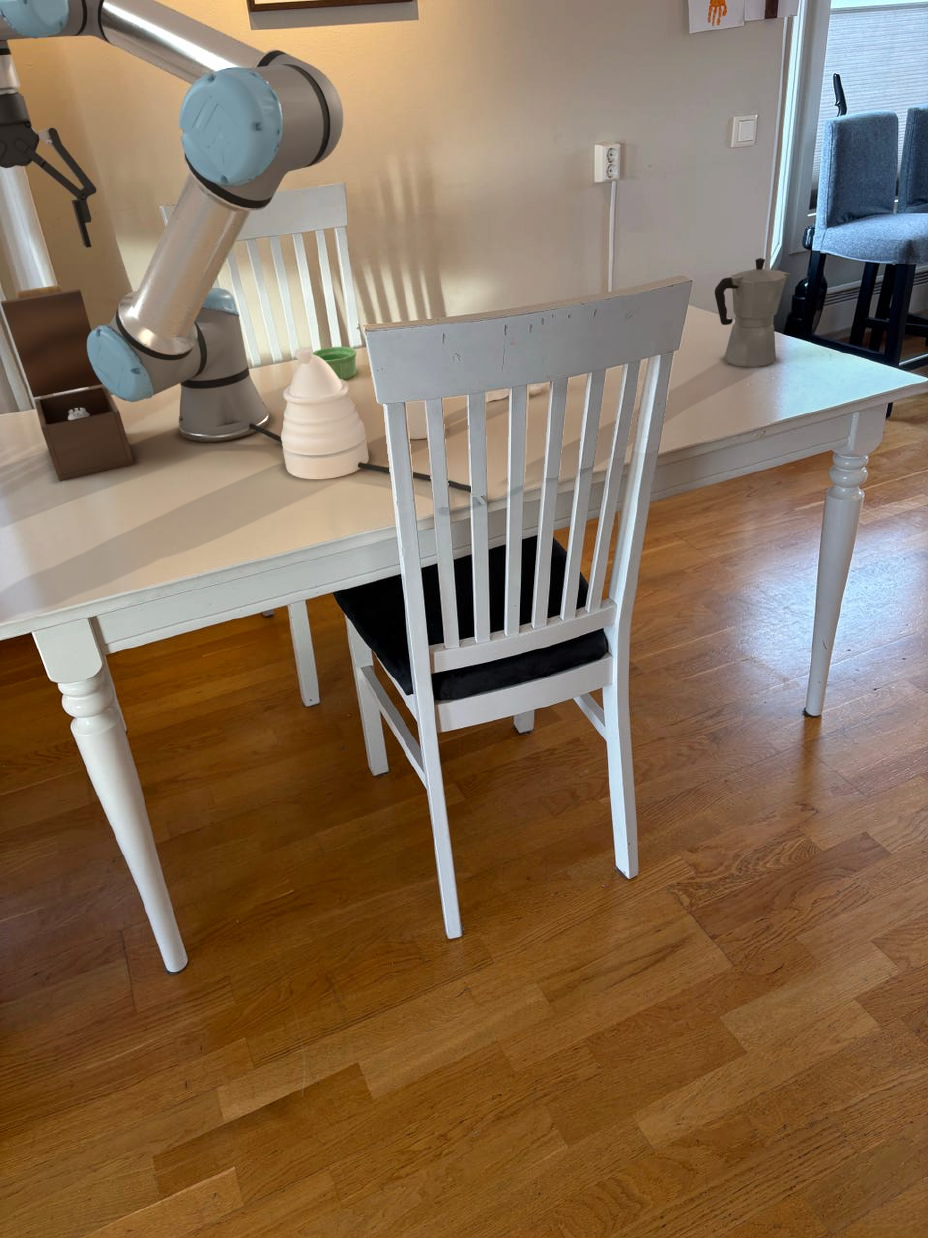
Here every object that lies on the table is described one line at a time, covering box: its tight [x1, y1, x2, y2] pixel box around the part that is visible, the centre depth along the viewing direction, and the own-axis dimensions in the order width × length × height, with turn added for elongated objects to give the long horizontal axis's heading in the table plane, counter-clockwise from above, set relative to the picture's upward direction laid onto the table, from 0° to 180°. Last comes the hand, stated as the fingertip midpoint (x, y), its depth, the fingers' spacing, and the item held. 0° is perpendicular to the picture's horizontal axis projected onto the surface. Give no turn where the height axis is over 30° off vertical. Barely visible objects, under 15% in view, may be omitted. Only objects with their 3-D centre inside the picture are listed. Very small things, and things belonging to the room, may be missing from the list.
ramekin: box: [313, 346, 357, 381], centre depth 176 cm, size 9×9×4 cm
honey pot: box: [280, 347, 370, 480], centre depth 135 cm, size 13×13×18 cm
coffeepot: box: [714, 257, 791, 368], centre depth 163 cm, size 15×9×18 cm, turn 111°
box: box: [33, 385, 135, 482], centre depth 147 cm, size 16×12×9 cm
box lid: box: [0, 284, 103, 399], centre depth 146 cm, size 16×12×6 cm
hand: (42, 253), depth 138 cm, fingers open, 13 cm apart
